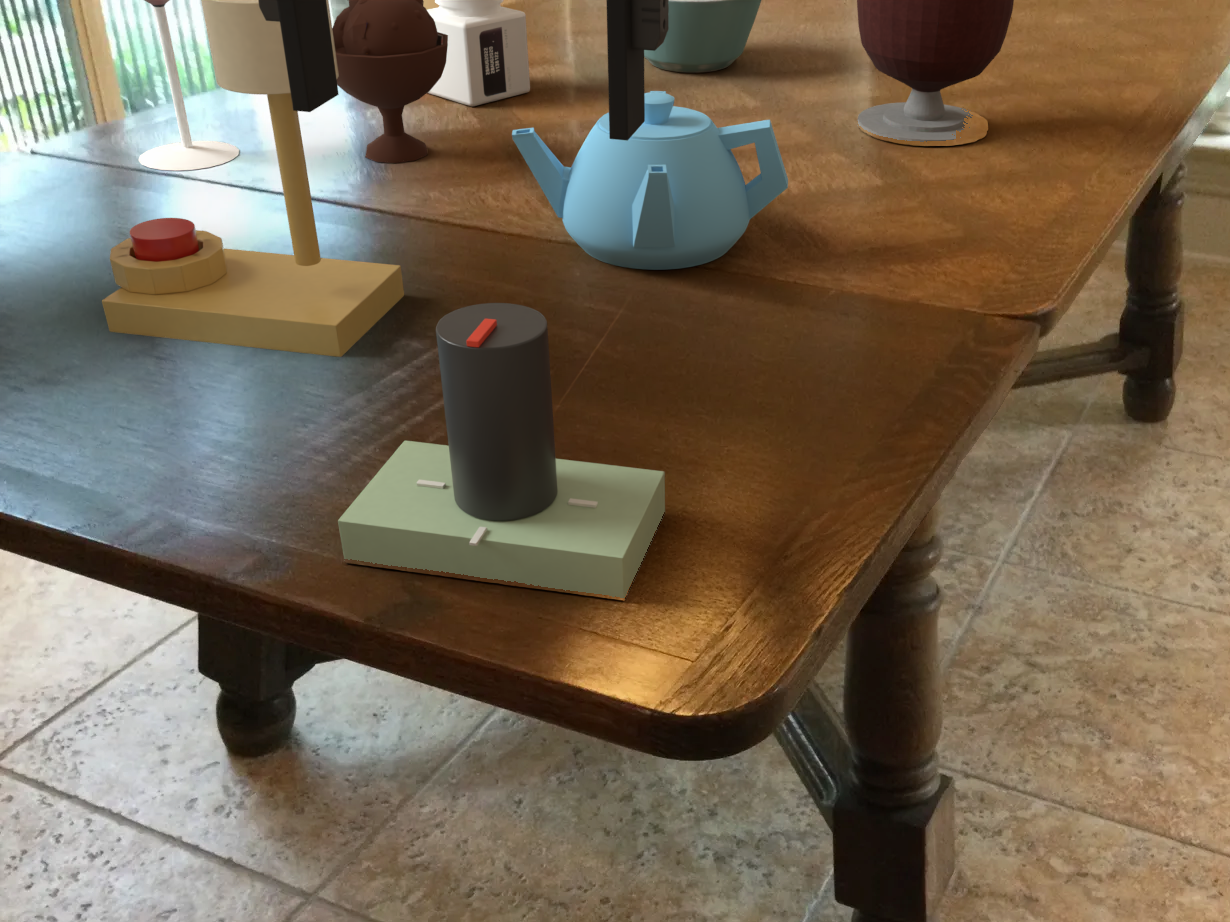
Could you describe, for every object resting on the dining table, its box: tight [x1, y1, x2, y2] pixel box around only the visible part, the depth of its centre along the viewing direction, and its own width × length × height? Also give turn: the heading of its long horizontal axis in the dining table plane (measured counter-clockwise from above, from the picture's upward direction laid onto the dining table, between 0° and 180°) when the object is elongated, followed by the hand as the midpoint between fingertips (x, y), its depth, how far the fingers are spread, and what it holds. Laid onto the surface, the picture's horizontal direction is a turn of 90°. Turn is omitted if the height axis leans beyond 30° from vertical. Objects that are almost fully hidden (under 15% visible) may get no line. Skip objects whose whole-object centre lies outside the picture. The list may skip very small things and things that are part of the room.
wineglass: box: [138, 0, 240, 172], centre depth 111 cm, size 9×10×22 cm
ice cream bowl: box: [332, 0, 448, 164], centre depth 114 cm, size 11×11×15 cm
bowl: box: [644, 0, 762, 74], centre depth 143 cm, size 16×16×8 cm
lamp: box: [200, 0, 339, 266], centre depth 82 cm, size 7×7×16 cm
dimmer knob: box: [435, 302, 558, 521], centre depth 63 cm, size 5×5×9 cm
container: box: [426, 0, 531, 107], centre depth 131 cm, size 8×8×13 cm
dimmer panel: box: [337, 440, 666, 598], centre depth 66 cm, size 14×9×3 cm, turn 78°
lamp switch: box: [129, 217, 200, 262], centre depth 88 cm, size 4×4×2 cm
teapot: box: [511, 90, 789, 271], centre depth 98 cm, size 15×15×11 cm
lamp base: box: [101, 229, 405, 358], centre depth 88 cm, size 18×10×4 cm, turn 78°
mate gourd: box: [856, 0, 1015, 142], centre depth 121 cm, size 16×14×20 cm
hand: (469, 117), depth 56 cm, fingers open, 13 cm apart
